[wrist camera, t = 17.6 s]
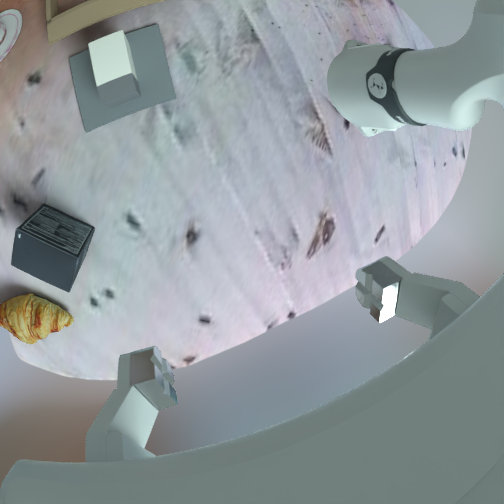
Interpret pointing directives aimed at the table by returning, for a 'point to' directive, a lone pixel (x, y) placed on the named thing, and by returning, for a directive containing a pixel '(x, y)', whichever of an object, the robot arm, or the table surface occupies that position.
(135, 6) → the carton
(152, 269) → the table surface
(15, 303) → the croissant
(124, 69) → the box
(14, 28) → the teacup
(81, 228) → the small box
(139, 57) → the slate mat
